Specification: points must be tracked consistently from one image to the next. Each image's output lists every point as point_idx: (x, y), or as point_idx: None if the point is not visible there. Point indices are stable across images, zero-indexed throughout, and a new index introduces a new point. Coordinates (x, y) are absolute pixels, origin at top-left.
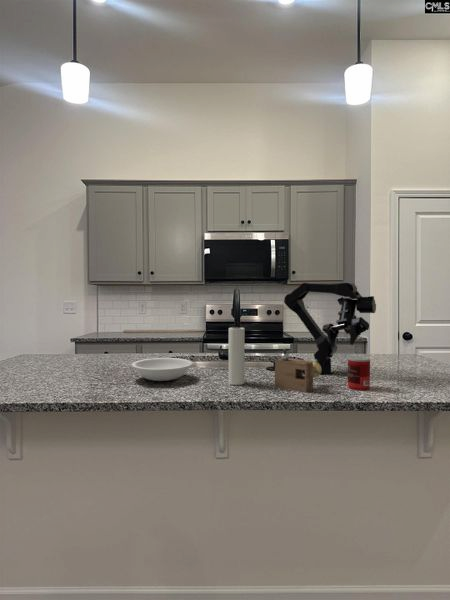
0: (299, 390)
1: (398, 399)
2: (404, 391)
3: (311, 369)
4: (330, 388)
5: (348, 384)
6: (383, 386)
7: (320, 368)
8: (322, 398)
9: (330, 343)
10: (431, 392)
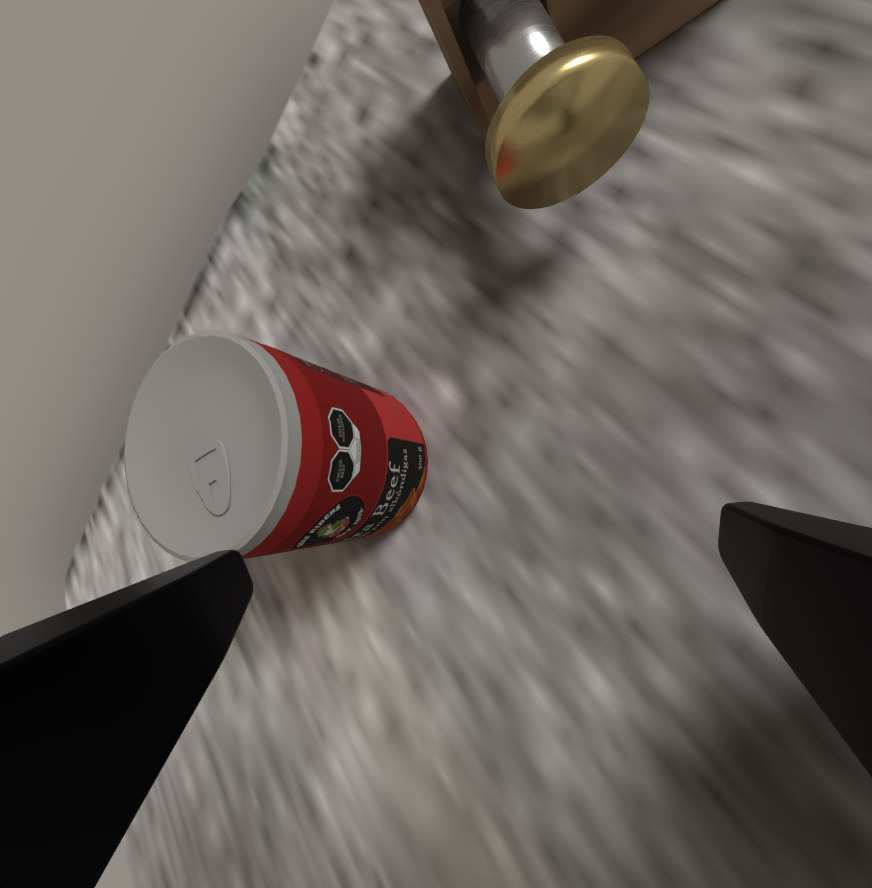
0: None
1: None
2: None
3: (423, 3)
4: (446, 278)
5: (384, 392)
6: (312, 635)
7: (489, 166)
8: (328, 114)
9: (806, 518)
10: None
